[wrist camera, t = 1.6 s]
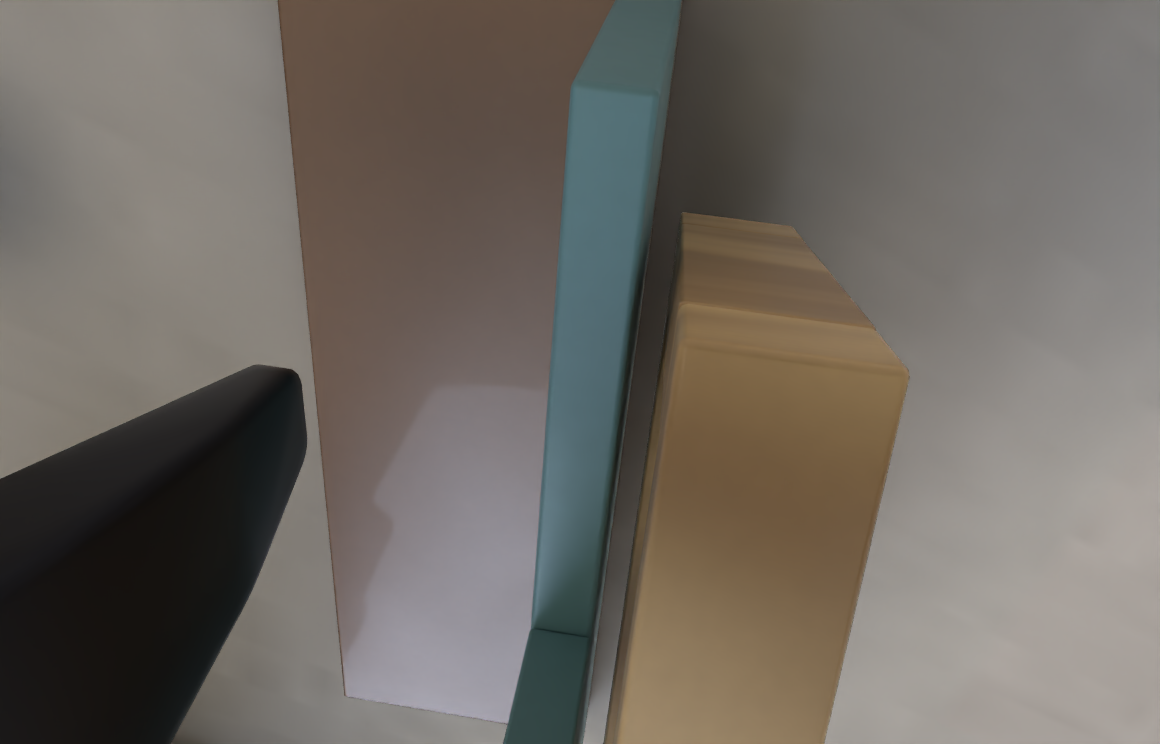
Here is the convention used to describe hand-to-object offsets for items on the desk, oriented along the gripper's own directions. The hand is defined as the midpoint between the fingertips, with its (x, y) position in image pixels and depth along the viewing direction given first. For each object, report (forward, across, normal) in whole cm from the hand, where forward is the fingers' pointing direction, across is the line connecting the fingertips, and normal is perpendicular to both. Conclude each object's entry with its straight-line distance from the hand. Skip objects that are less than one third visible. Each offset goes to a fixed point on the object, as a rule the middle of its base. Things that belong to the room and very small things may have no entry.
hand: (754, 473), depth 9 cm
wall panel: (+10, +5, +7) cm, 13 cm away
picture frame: (+6, 0, +10) cm, 11 cm away
